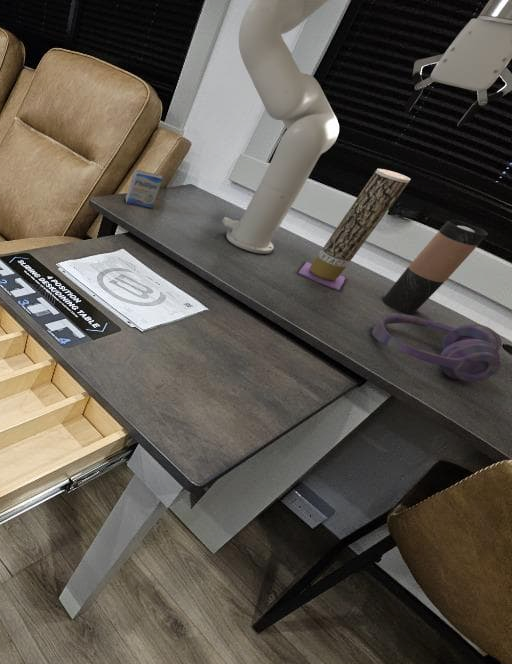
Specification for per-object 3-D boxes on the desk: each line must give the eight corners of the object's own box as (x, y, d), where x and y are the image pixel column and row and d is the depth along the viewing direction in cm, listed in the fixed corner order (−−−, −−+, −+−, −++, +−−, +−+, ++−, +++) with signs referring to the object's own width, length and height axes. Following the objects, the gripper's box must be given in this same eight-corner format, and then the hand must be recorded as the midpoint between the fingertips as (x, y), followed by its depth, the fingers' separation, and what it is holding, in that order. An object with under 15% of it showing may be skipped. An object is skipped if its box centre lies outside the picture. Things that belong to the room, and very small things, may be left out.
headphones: (485, 360, 95) (373, 326, 106) (513, 326, 90) (393, 293, 101) (481, 397, 84) (357, 355, 95) (513, 361, 79) (378, 320, 90)
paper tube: (312, 265, 120) (380, 167, 103) (339, 277, 117) (413, 177, 100) (304, 272, 116) (373, 170, 99) (332, 284, 113) (407, 181, 96)
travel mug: (422, 317, 108) (496, 238, 94) (390, 309, 108) (459, 229, 95) (407, 300, 114) (475, 224, 100) (376, 293, 114) (440, 216, 101)
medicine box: (125, 203, 135) (136, 173, 129) (125, 198, 138) (135, 168, 132) (151, 208, 134) (163, 178, 129) (150, 203, 138) (161, 174, 132)
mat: (297, 273, 116) (298, 272, 115) (305, 262, 122) (306, 261, 122) (338, 290, 112) (339, 289, 111) (344, 278, 118) (345, 277, 118)
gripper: (564, 25, 81) (480, 130, 92) (452, 6, 88) (388, 106, 99) (569, 22, 76) (481, 134, 87) (451, 2, 83) (384, 108, 94)
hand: (431, 119), depth 93 cm, fingers open, 9 cm apart
